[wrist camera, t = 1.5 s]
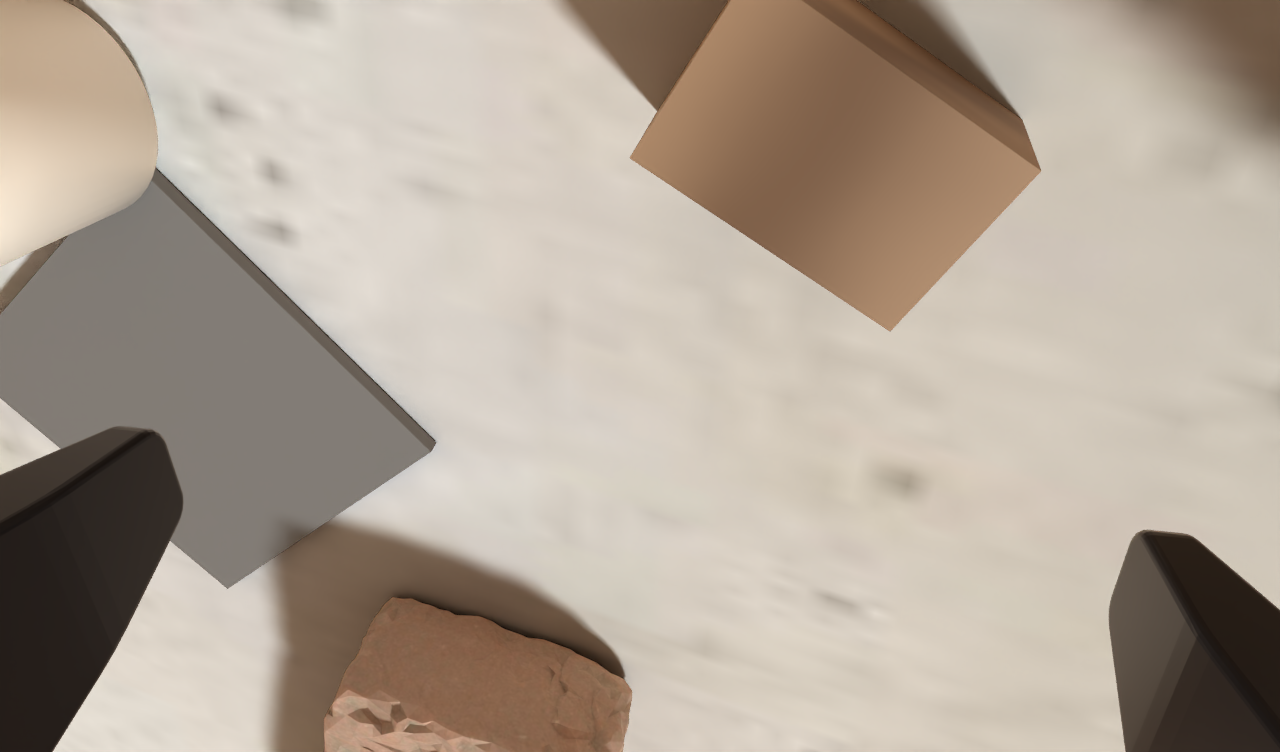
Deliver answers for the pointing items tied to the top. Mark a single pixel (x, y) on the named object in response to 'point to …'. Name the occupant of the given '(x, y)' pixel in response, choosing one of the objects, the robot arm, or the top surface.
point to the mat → (201, 380)
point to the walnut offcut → (838, 148)
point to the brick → (471, 690)
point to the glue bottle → (66, 125)
